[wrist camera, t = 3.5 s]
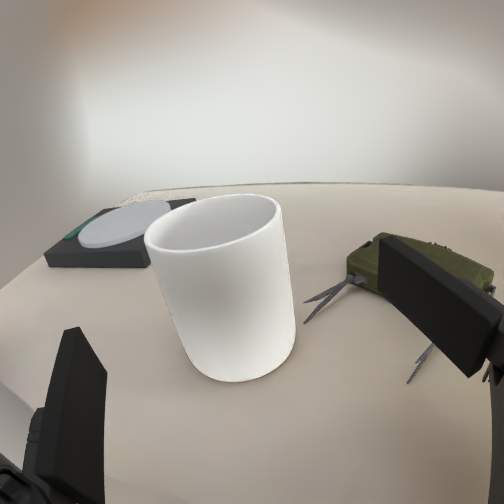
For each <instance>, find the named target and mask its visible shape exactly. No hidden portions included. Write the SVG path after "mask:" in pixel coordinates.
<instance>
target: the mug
mask: <svg viewBox="0 0 504 504" xmlns="http://www.w3.org/2000/svg"><path fill="white" fill-rule="evenodd" d="M144 243H145V246H146V249H147V252H148V255H149V258H150V261H151V263H152V266H153V269H154V272H155V275H156V278H157V280H158V283H159V286H160V288H161V291H162V294H163V297H164V299H165V302H166V304H167V307H168V310H169V312H170V315H171V317H172V320H173V322H174V325H175V327H176V330H177V332H178V335H179V337H180V340H181V342H182V344H183V347H184V349H185V351H186V353H187V355H188V357H189V359H190V361H191V362H192V364H193V365H194V366H195V367H196V368H197V369H198V370H199V371H200V372H201V373H203V374H205V375H206V376H208V377H210V378H213V379H216V380H220V381H226V382H242V381H248V380H252V379H256V378H259V377H261V376H264V375H266V374H268V373H270V372H271V371H273V370H274V369H276V368H277V367H278V366H279V365H281V364H282V363H283V362H284V361H285V359H286V358H287V357H288V355H289V354H290V352H291V350H292V348H293V346H294V342H295V332H296V331H295V318H294V309H293V300H292V291H291V283H290V275H289V267H288V259H287V251H286V243H285V236H284V228H283V221H282V214H281V208H280V206H279V204H278V203H277V202H276V201H275V200H273V199H272V198H269V197H266V196H263V195H257V194H228V195H221V196H215V197H210V198H206V199H202V200H198V201H195V202H191V203H189V204H186V205H183V206H181V207H178V208H176V209H174V210H172V211H170V212H168V213H166V214H164V215H163V216H161V217H160V218H158V219H157V220H155V221H154V222H153V223H152V224H151V225H150V226H149V227H148V229H147V230H146V232H145V234H144Z"/></svg>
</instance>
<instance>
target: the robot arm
mask: <svg viewBox="0 0 504 504" xmlns="http://www.w3.org/2000/svg"><path fill="white" fill-rule="evenodd" d="M377 290H378V291H379V292H380V293H381V294H382V295H383V296H384V297H385V298H386V299H387V300H389V301H390V302H391V303H392V304H393V305H394V306H395V307H396V308H397V309H398V310H399V311H400V312H401V313H402V314H404V315H405V316H406V317H407V318H408V319H409V320H410V321H411V322H412V323H413V324H414V325H415V326H416V327H417V328H418V329H419V330H420V331H421V332H422V333H423V334H424V335H425V336H427V337H428V338H429V339H430V340H431V341H432V342H433V343H434V344H435V345H436V346H437V347H438V348H439V349H440V350H441V351H442V352H443V353H444V354H445V355H446V356H447V357H448V358H449V359H450V360H451V361H452V362H453V363H454V364H455V365H456V366H457V367H458V368H459V369H460V370H461V371H462V372H463V373H464V374H465V375H466V376H467V377H468V378H470V377H471V376H472V375H474V374H475V373H476V372H478V371H479V370H480V369H481V368H482V366H483V363H484V361H485V359H486V358H487V359H488V360H489V361H490V364H489V366H488V368H487V370H486V372H485V374H484V376H483V380H482V382H485V380H486V378H487V376H488V374H489V380H488V382H490V391H491V408H492V462H491V478H490V489H489V499H488V504H504V305H502V304H501V303H500V302H498V301H497V300H496V299H494V298H493V297H492V296H490V295H489V294H488V293H485V292H484V290H482V289H481V288H478V287H477V285H475V284H474V283H472V282H471V281H470V280H468V279H465V278H463V277H460V276H455V277H454V276H453V275H452V274H450V273H449V272H447V271H446V270H445V269H443V268H442V267H440V266H439V265H437V264H436V263H434V262H433V261H431V260H430V259H428V258H427V257H425V256H424V255H423V254H421V253H420V252H418V251H416V250H415V249H413V248H412V247H410V246H409V245H407V244H406V243H404V242H403V241H401V240H400V239H398V238H396V237H395V236H393V235H390V236H386V237H383V238H380V239H379V255H378V280H377ZM106 385H107V371H106V370H105V368H104V367H103V365H102V364H101V362H100V360H99V359H98V357H97V356H96V354H95V352H94V351H93V349H92V347H91V346H90V344H89V342H88V341H87V339H86V337H85V336H84V334H83V332H82V330H81V329H80V327H75V328H72V329H68V330H64V333H63V336H62V339H61V343H60V346H59V350H58V353H57V357H56V360H55V364H54V368H53V372H52V376H51V380H50V384H49V388H48V393H47V397H46V402H45V407H43V408H37V410H36V412H35V414H34V415H33V417H32V419H31V423H30V428H29V434H28V438H27V441H28V443H27V445H26V450H25V456H24V462H23V470H22V474H21V473H19V472H18V471H17V470H16V469H14V468H13V467H11V466H9V465H1V466H0V504H105V495H104V494H105V492H104V419H105V399H106Z"/></svg>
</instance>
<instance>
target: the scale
mask: <svg viewBox="0 0 504 504" xmlns="http://www.w3.org/2000/svg"><path fill="white" fill-rule="evenodd" d="M195 201H196V199H195V198H190V199H181V200H172V201H162V200H149V201H142V202H137V203H133V204H129V205H126V206H123V207H116V208H109V209H103V210H102V211H100V212H99V213H97V214H96V215H95V216H93V217H91V218H90V219H88V220H87V221H86V222H84V223H83V224H81V225H80V226H79V227H78V228H76V229H74V230H73V231H72V232H71V233H69V234H68V235H66V236H65V237H64V238H63V239H62V240H60V241H59V242H58V243H57V244H55V245H54V246H53V247H51V248H50V249H49V250H48V251H46V252H45V253H44V256H45V259H46V261H47V263H48V265H49V267H120V268H146V267H147V266H148V265H149V264H150V263H151V261H150V258H149V255H148V252H147V249H146V246H145V243H144V234H145V232H146V230H147V229H148V227H149V226H150V225H151V224H152V223H153V222H154V221H155V220H157V219H158V218H160V217H161V216H163V215H164V214H166V213H168V212H170V211H172V210H174V209H176V208H178V207H181V206H183V205H186V204H189V203H191V202H195Z"/></svg>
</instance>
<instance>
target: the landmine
mask: <svg viewBox="0 0 504 504" xmlns="http://www.w3.org/2000/svg"><path fill="white" fill-rule="evenodd" d="M390 235H393V234H389V233H384V232H382V233H380V234H378V235H377V236H375V237H374V238H373V242H372V241H368V242H366V243H365V244H364V245H362V246H361V247H359V248H358V249H356V250H355V251H353V252H352V253H351V254H350V255H349V256H348V257H347V277H346V280H345V281H343V282H341V283H339V284H337V285H335V286H334V287H332V288H330V289H328V290H326V291H324V292H322V293H321V294H319V295H317V296H315V297H313V298H311V299H309V300H307V301H305V302H303V303H308V302H312V301H316V300H320V299H322V298H323V297H325V296H327V295H329V294H330V295H329V296H328V297H327V298H326V299H325V300H324V301H323V302H321V303H320V304H319V305H318V306H317V307H316V308H315V310H314V311H313V312H312V313H311V315H310V316H309V317H308V318H307V319H306V321H305V322H304V324H305V323H306V322H307V321H308V320H309V319H311V318H312V317H313V316H314V315H315V314H316V313H317V312H318V311H319V310H320V309H321V308H322V307H323V306H325V305H326V304H327V303H328V302H329V301H330V300H331V299H332V298H333V297H334V296H335V295H336V294H337V293H338V292H339V291H340V290H341V289H342V288H343V287H344V286H345V285H347V284H349V283H350V282H351V283H355V284H358V285H360V286H362V287H365V288H367V289H369V290H372V291H374V292H376V293H379V294H381V293H380V292H379V291H378V290H377V280H378V255H379V239H380V238H383V237H386V236H390ZM393 236H395V237H396V238H398V239H400V240H401V241H403V242H404V243H406V244H407V245H409V246H410V247H412V248H413V249H415V250H416V251H418V252H420V253H421V254H423V255H424V256H425V257H427V258H428V259H430V260H431V261H433V262H434V263H436V264H437V265H439V266H440V267H442V268H443V269H445V270H446V271H447V272H449V273H450V274H452V275H453V276H454V277H455V276H460V277H463V278H465V279H468V280H470V281H471V282H472V283H474V284H475V285H477V287H478V288H481V289H482V290H484V292H485V293H488V292H491V295H490V296H492V297H493V295H494V293H495V289H496V287H495V286H493V285H491V283H492V280H493V276H494V272H493V271H492V270H491V269H489V268H487V267H485V266H483V265H481V264H479V263H477V262H475V261H473V260H471V259H469V258H467V257H464V256H462V255H460V254H457V253H455V252H453V251H452V250H451V249H450V248H447V247H446V246H445V247H443V246H440V245H437V243H434V245H433V244H432V243H431V242H429V243H426V242H423V241H419V240H415V239H412V238H407V237H402V236H397V235H393ZM381 295H382V294H381ZM434 347H435V344H434V343H433V342H432V344H431V345H430V346H429V347H428V348H427V349H426V351H425V352H424V353H423V354H422V355H421V356H420V357H419V359H418V360H417V361H416V362H415V363H416V364H417V363H418V362H419V361H420V360H421V359H422V360H421V362H420V363H419V365H418V366H417V368H416V369H415V371H414V372H413V374H412V375H411V377H410V378H409V380H408V381H407V384H408V383H409V382H410V381H411V379H412V378H413V377H414V375H415V374H416V373H417V371H418V370H419V368H420V367H421V366H422V364H423V363H424V361H425V360H426V358H427V357H428V355H429V354H430V353H431V351H432V350H433V348H434Z"/></svg>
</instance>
